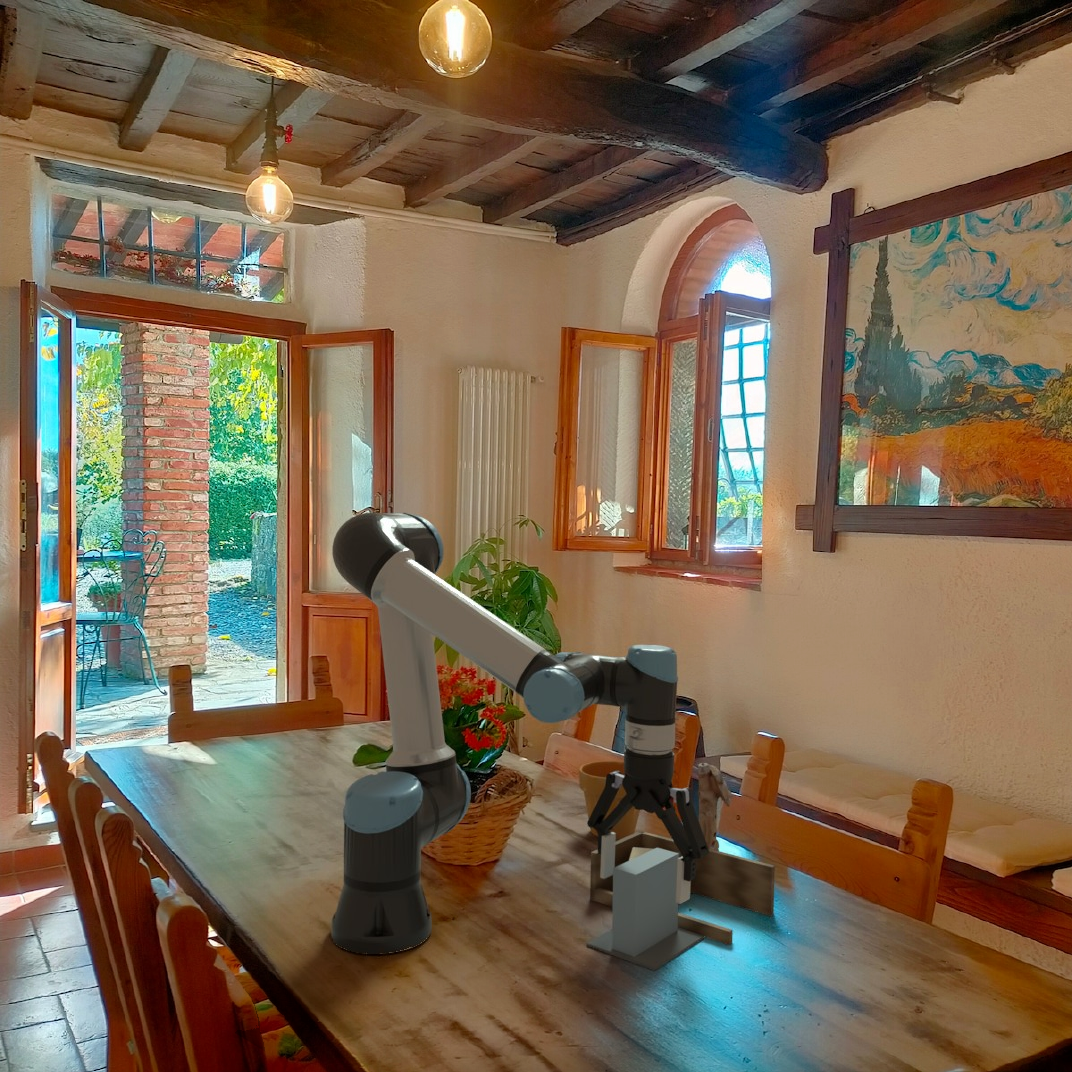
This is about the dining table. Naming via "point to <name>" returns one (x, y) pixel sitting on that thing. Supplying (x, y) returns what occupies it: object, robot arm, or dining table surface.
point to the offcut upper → (638, 852)
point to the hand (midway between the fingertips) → (643, 888)
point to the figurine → (711, 801)
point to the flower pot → (593, 786)
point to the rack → (699, 882)
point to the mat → (651, 948)
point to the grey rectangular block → (644, 901)
